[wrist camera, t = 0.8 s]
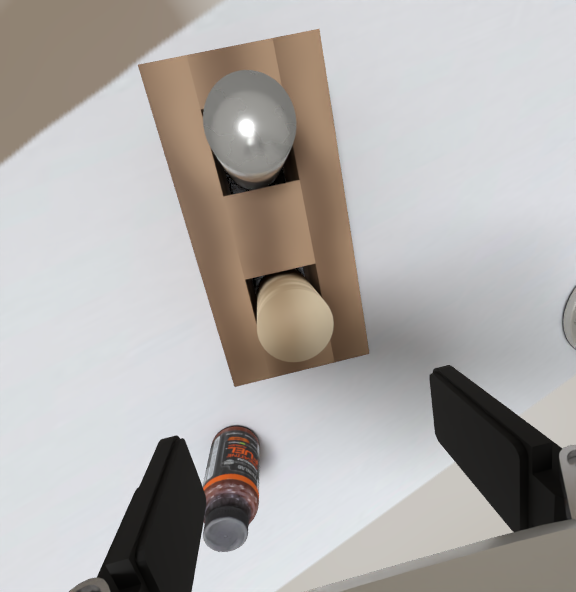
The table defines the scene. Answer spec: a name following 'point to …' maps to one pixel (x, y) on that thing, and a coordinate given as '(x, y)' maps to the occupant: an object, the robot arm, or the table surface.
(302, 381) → the table surface
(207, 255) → the walnut block
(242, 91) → the gray peg
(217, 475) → the supplement bottle
